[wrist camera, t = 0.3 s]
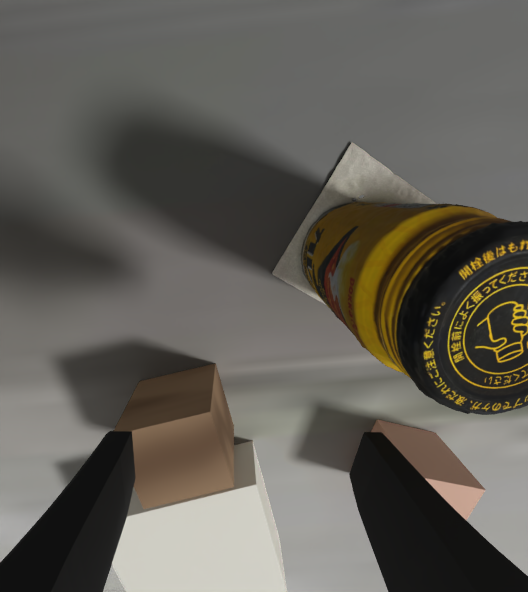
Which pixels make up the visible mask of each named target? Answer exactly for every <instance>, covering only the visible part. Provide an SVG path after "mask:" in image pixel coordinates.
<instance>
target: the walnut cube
mask: <svg viewBox="0 0 528 592" xmlns="http://www.w3.org/2000/svg"><path fill="white" fill-rule="evenodd" d="M114 431H132V439H133V451H134V464H135V477H136V478H135V483H134V489H135V491H136V493H137V495H138V498H139V500H140V502H141V504H142V507H143V509H147V508H151V507H155V506H159V505H163V504H167V503H172V502H176V501H180V500H184V499H188V498H192V497H196V496H200V495H204V494H208V493H212V492H216V491H220V490H224V489H228V488H232V487H234V425H233V422H232V418H231V415H230V411H229V408H228V404H227V401H226V398H225V394H224V391H223V387H222V384H221V380H220V377H219V374H218V370H217V367H216V363H215V364H211V365H206V366H202V367H198V368H194V369H189V370H185V371H181V372H177V373H172V374H168V375H164V376H160V377H155V378H151V379H147V380H143V381H139V383H138V385H137V387H136V389H135V391H134V393H133V394H132V396H131V398H130V400H129V402H128V404H127V406H126V408H125V410H124V412H123V414H122V416H121V418H120V420H119V421H118V423H117V425H116V427H115V429H114Z"/></svg>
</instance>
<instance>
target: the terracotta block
mask: <svg viewBox="0 0 528 592" xmlns="http://www.w3.org/2000/svg"><path fill="white" fill-rule="evenodd" d="M371 432H382V433H383V434H384V435H385V436H386V437H387V438H388V439H389V440H390V442H391V443H392V444H393V445H394V446H395V447H396V448H397V449H398V450H399V451H400V452H401V453H402V455H403V456H404V457H405V458H406V459H407V460H408V461H409V462H410V463H411V464H412V465H413V466H414V468H415V469H416V470H417V471H418V472H419V473H420V474H421V475H422V476H423V477H424V478H425V479H426V480H427V481H428V482H429V484H430V485H431V486H432V487H433V488H434V489H435V490H436V491H437V492H438V493H439V494H440V495H441V496H442V497H443V498H444V499H445V500H446V501H447V502H448V503H449V504H450V505H451V506H452V507H453V508H454V509H455V510H456V511H457V512H458V513H459V514H460V515H461V516H462V517H463V518H464V519H465V520H467V518H468V517H469V515H470V514H471V512H472V511H473V509H474V507H475V506H476V504H477V503H478V501H479V499H480V498H481V496H482V495H483V493H484V491H485V489H484V488H483V487H482V485H481V484H480V483H479V482H478V481H477V480H476V479H475V477H474V476H473V475H472V474H471V473H470V472H469V471H468V469H467V468H466V467H465V466H464V465H463V464H462V462H461V461H460V460H459V459H458V458H457V457H456V456H455V454H454V453H453V452H452V451H451V450H450V449H449V448H448V446H447V445H446V444H445V443H444V442H443V441H442V440H441V438H440V437H439V436H438V435H437V434H436V433H434V432H430V431H425V430H421V429H417V428H412V427H408V426H404V425H399V424H395V423H391V422H386V421H382V420H378V419H377V420H376V422H375V424H374V426H373V428H372V430H371Z"/></svg>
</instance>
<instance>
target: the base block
mask: <svg viewBox="0 0 528 592" xmlns="http://www.w3.org/2000/svg"><path fill="white" fill-rule="evenodd" d="M112 566H113V568H114V570H115V572H116V574H117V576H118V577H119V579H120V581H121V583H122V585H123V587H124V589H125V591H126V592H287V588H286V581H285V574H284V567H283V560H282V552H281V545H280V539H279V535H278V531H277V528H276V524H275V520H274V517H273V513H272V509H271V506H270V502H269V498H268V495H267V491H266V487H265V484H264V480H263V476H262V473H261V469H260V465H259V462H258V458H257V454H256V451H255V447H254V443H253V441H249V442H245V443H241V444H237V445H234V487H232V488H228V489H224V490H220V491H216V492H212V493H208V494H204V495H200V496H196V497H192V498H188V499H184V500H180V501H176V502H172V503H167V504H163V505H159V506H155V507H151V508H147V509H143V507H142V504H141V502H140V500H139V498H138V495H137V493H136V491H135V489H134V487H133V492H132V496H131V501H130V505H129V510H128V514H127V518H126V521H125V524H124V527H123V531H122V534H121V537H120V540H119V543H118V546H117V549H116V552H115V555H114V558H113V561H112Z"/></svg>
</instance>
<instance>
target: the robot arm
mask: <svg viewBox="0 0 528 592" xmlns="http://www.w3.org/2000/svg"><path fill="white" fill-rule="evenodd" d="M135 478H136V477H135V464H134V451H133V439H132V431H110V432H108V433H107V434H106V435H105V437H104V438H103V439H102V441H101V442H100V444H99V445H98V446H97V448H96V449H95V450H94V452H93V453H92V454H91V456H90V457H89V458H88V460H87V461H86V462H85V464H84V465H83V466H82V468H81V469H80V470H79V471H78V473H77V474H76V475H75V477H74V478H73V479H72V480H71V482H70V483H69V484H68V485H67V486H66V488H65V489H64V490H63V491H62V493H61V494H60V495H59V496H58V497H57V499H56V500H55V501H54V502H53V504H52V505H51V506H50V507H49V508H48V510H47V511H46V512H45V513H44V514H43V515H42V517H41V518H40V519H39V520H38V521H37V522H36V523H35V525H34V526H33V527H32V528H31V529H30V530H29V531H28V532H27V534H26V535H25V536H24V537H23V538H22V539H21V540H20V542H19V543H18V544H17V545H16V546H15V547H14V548H13V549H12V551H11V552H10V553H9V554H8V555H7V556H6V557H5V558H4V559H3V560H2V561H1V562H0V592H103V589H104V586H105V583H106V580H107V577H108V574H109V571H110V568H111V565H112V561H113V558H114V555H115V552H116V549H117V546H118V543H119V540H120V537H121V534H122V531H123V527H124V524H125V521H126V518H127V514H128V510H129V505H130V501H131V496H132V492H133V487H134V483H135ZM350 479H351V483H352V487H353V491H354V495H355V499H356V503H357V507H358V510H359V513H360V516H361V519H362V521H363V524H364V527H365V530H366V532H367V535H368V538H369V541H370V543H371V546H372V549H373V551H374V554H375V557H376V559H377V562H378V565H379V567H380V570H381V573H382V576H383V578H384V581H385V584H386V586H387V589H388V592H528V576H527V575H526V574H524V573H523V572H522V571H521V570H520V569H519V568H518V567H516V566H515V565H514V564H513V563H512V562H511V561H510V560H508V559H507V558H506V557H505V556H504V555H503V554H502V553H500V552H499V551H498V550H497V549H496V548H495V547H494V546H493V545H492V544H490V543H489V542H488V541H487V540H486V539H485V538H484V537H483V536H482V535H481V534H480V533H479V532H478V531H477V530H476V529H474V528H473V527H472V526H471V525H470V524H469V523H468V522H467V521H466V520H465V519H464V518H463V517H462V516H461V515H460V514H459V513H458V512H457V511H456V510H455V509H454V508H453V507H452V506H451V505H450V504H449V503H448V502H447V501H446V500H445V499H444V498H443V497H442V496H441V495H440V494H439V493H438V492H437V491H436V490H435V489H434V488H433V487H432V486H431V485H430V484H429V482H428V481H427V480H426V479H425V478H424V477H423V476H422V475H421V474H420V473H419V472H418V471H417V470H416V469H415V468H414V466H413V465H412V464H411V463H410V462H409V461H408V460H407V459H406V458H405V457H404V456H403V455H402V453H401V452H400V451H399V450H398V449H397V448H396V447H395V446H394V445H393V444H392V443H391V442H390V440H389V439H388V438H387V437H386V436H385V435H384V434H383V433H382V432H364V434H363V437H362V440H361V443H360V445H359V448H358V451H357V454H356V457H355V460H354V463H353V466H352V469H351V471H350Z"/></svg>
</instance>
